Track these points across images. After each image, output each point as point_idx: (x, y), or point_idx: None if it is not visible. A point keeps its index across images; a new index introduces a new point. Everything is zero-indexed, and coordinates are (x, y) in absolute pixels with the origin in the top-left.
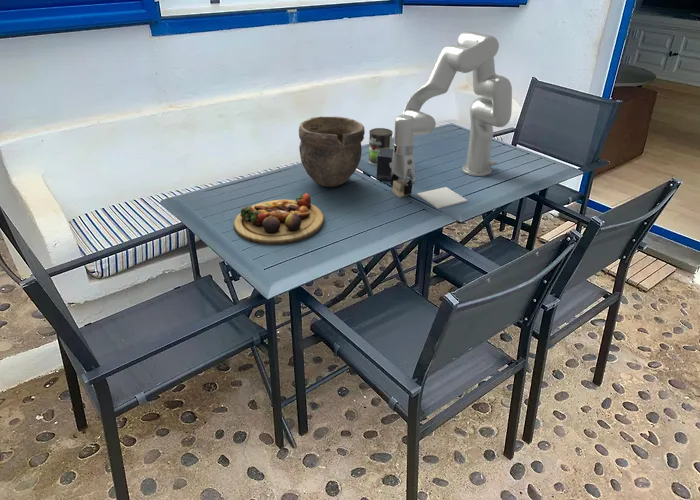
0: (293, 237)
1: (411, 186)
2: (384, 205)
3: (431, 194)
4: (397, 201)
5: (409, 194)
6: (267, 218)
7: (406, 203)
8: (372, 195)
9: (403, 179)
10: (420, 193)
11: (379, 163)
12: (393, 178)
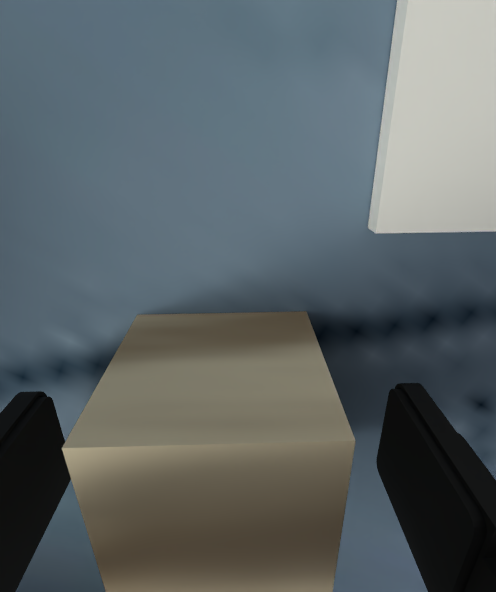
0: None
1: (486, 484)
2: (373, 580)
3: None
4: (375, 486)
5: (305, 316)
6: None
7: (468, 443)
8: None
9: (94, 463)
10: (407, 185)
11: None
12: (3, 582)
